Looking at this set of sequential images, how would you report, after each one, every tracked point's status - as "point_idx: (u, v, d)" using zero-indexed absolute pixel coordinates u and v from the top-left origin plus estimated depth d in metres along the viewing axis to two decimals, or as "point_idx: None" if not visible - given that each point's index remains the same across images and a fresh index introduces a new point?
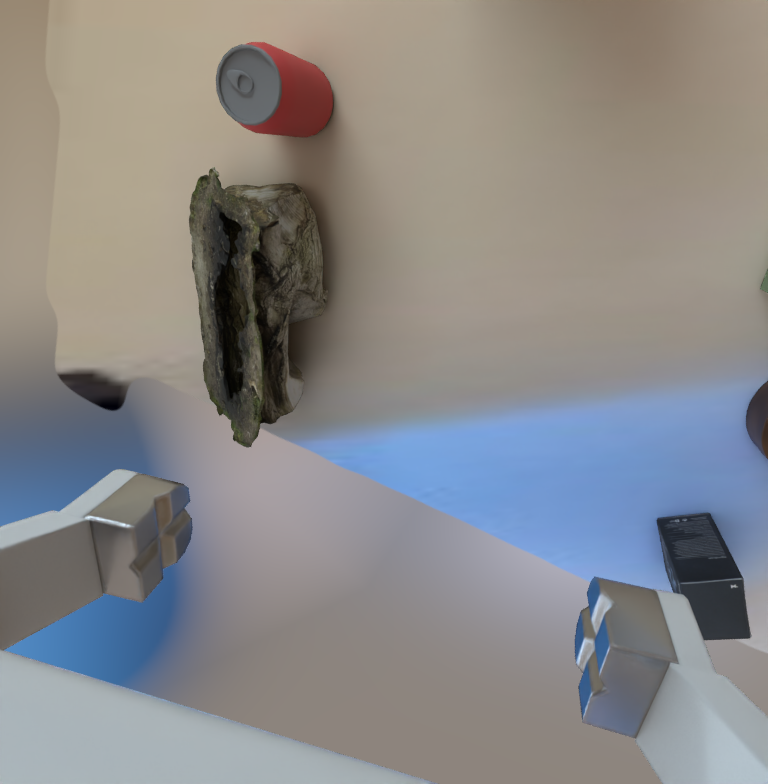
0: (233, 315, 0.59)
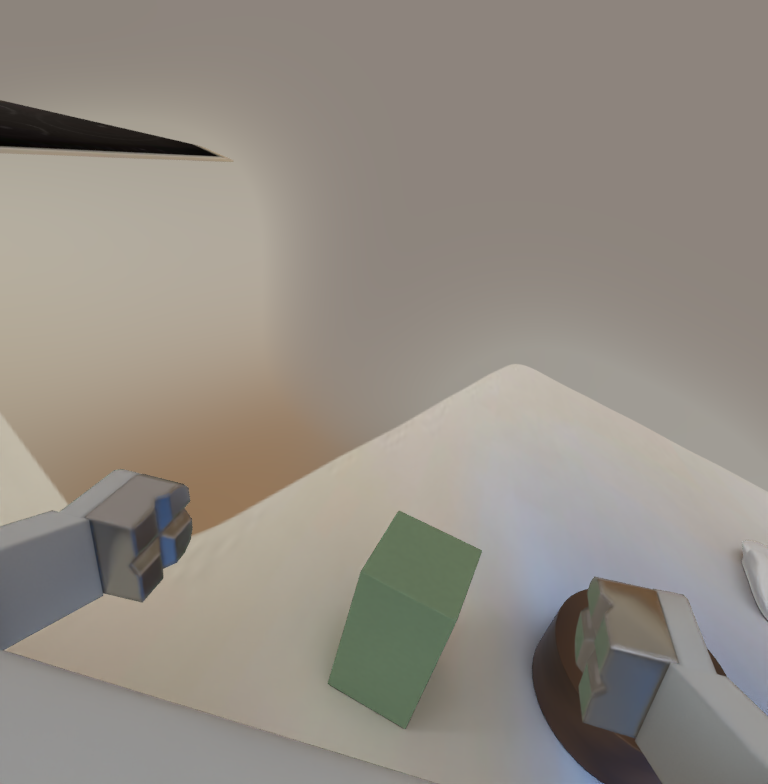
0: None
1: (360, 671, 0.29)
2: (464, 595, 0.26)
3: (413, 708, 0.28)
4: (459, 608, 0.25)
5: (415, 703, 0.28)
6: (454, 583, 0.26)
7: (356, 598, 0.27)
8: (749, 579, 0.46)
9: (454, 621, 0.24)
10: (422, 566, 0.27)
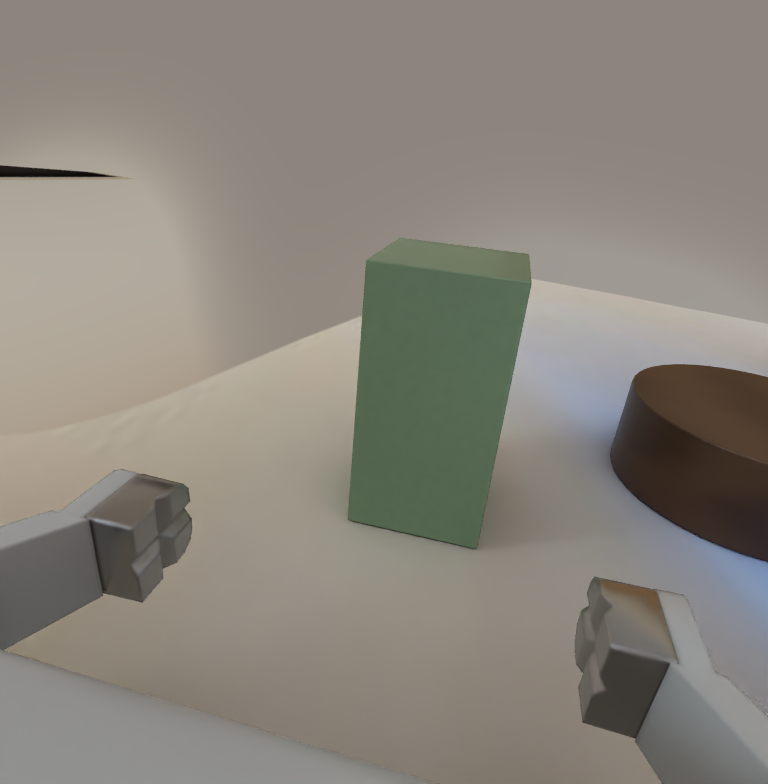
0: None
1: (394, 468, 0.19)
2: (528, 271, 0.17)
3: (484, 500, 0.19)
4: (528, 276, 0.16)
5: (486, 488, 0.18)
6: (507, 265, 0.17)
7: (366, 321, 0.17)
8: None
9: (528, 283, 0.15)
10: (455, 258, 0.18)
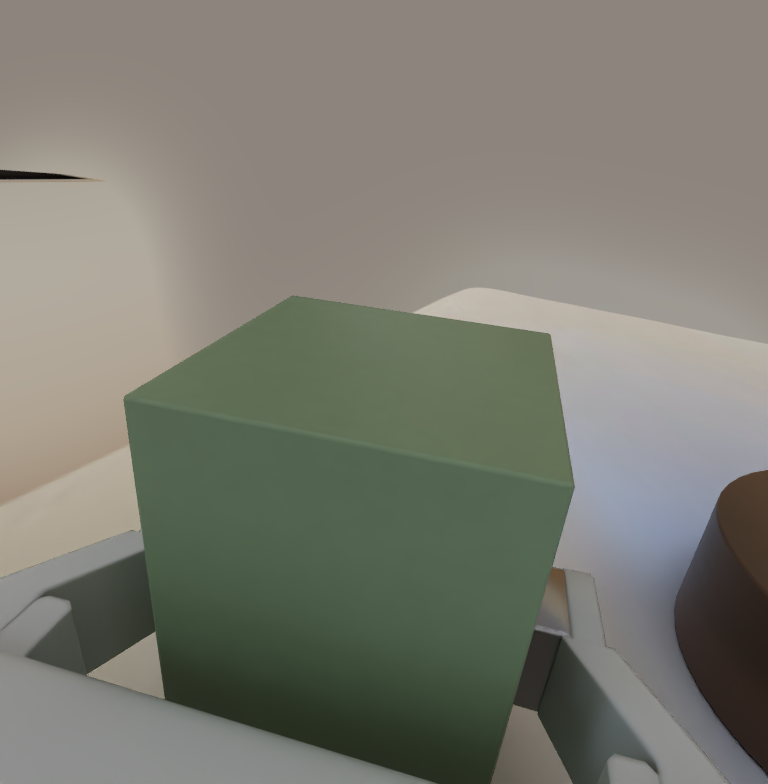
0: None
1: None
2: (559, 412, 0.07)
3: None
4: (563, 445, 0.06)
5: None
6: (505, 390, 0.07)
7: (152, 535, 0.07)
8: None
9: (566, 488, 0.05)
10: (381, 368, 0.07)
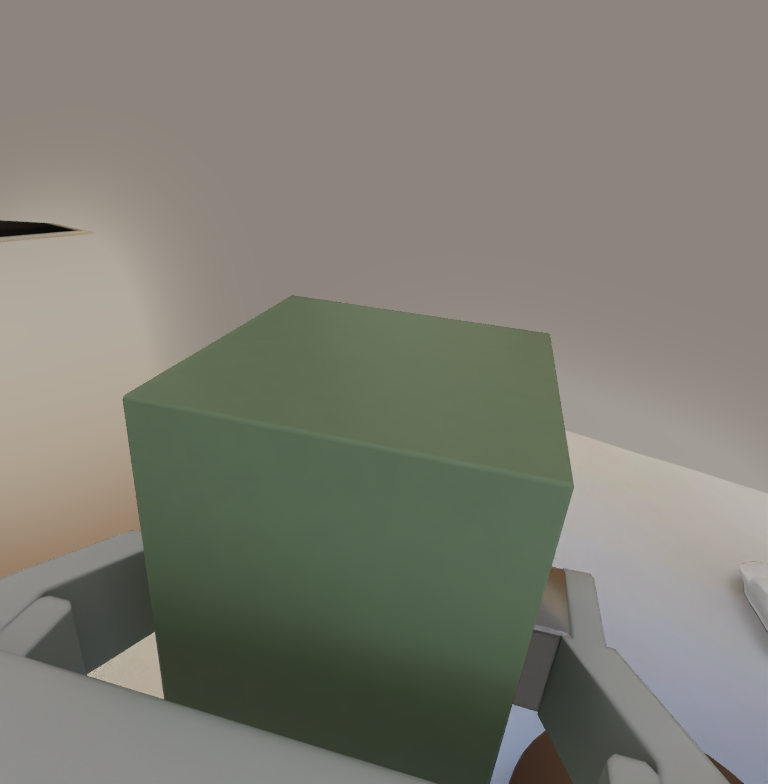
0: None
1: None
2: (558, 412, 0.07)
3: None
4: (562, 445, 0.06)
5: None
6: (504, 390, 0.07)
7: (151, 534, 0.07)
8: (762, 619, 0.34)
9: (565, 488, 0.05)
10: (381, 368, 0.07)
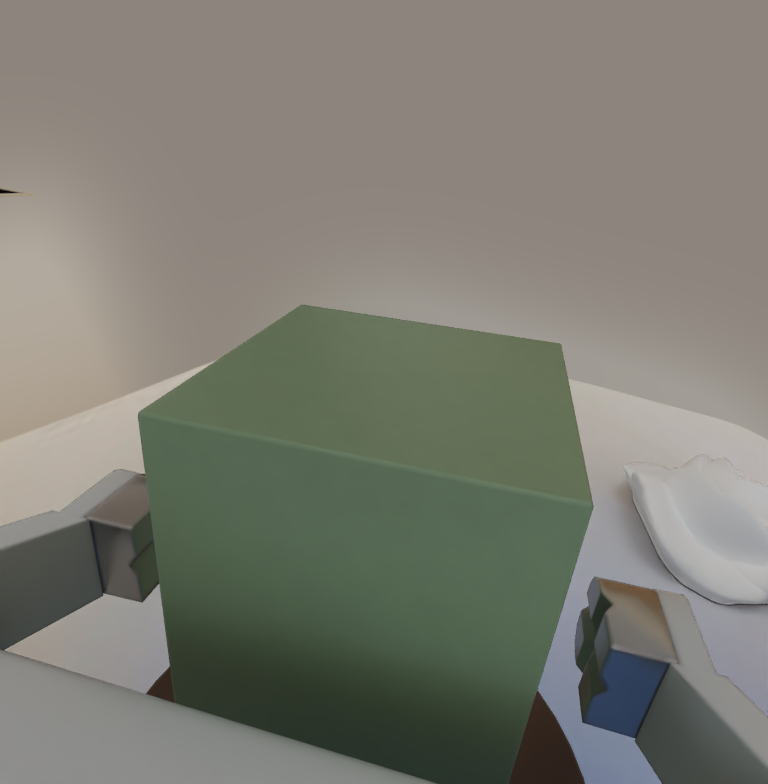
0: None
1: None
2: (574, 427, 0.07)
3: None
4: (579, 463, 0.06)
5: None
6: (519, 404, 0.07)
7: (165, 549, 0.07)
8: (645, 522, 0.28)
9: (585, 507, 0.05)
10: (393, 381, 0.07)
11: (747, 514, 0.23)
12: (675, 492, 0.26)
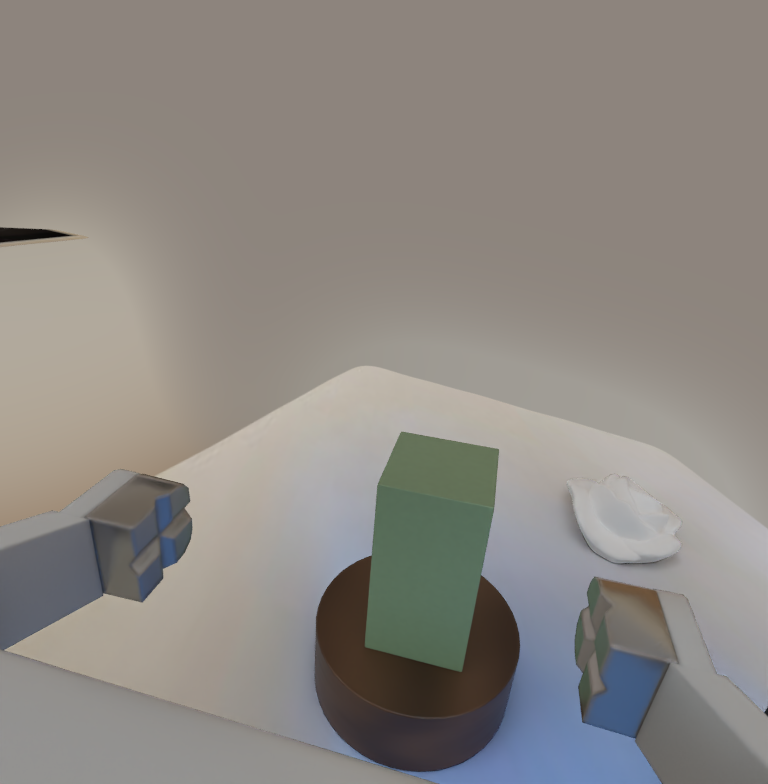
0: None
1: (399, 615, 0.26)
2: (494, 486, 0.23)
3: (466, 640, 0.25)
4: (493, 497, 0.23)
5: (467, 633, 0.25)
6: (480, 478, 0.24)
7: (378, 521, 0.24)
8: None
9: (492, 508, 0.22)
10: (442, 470, 0.24)
11: (629, 510, 0.40)
12: (593, 498, 0.43)
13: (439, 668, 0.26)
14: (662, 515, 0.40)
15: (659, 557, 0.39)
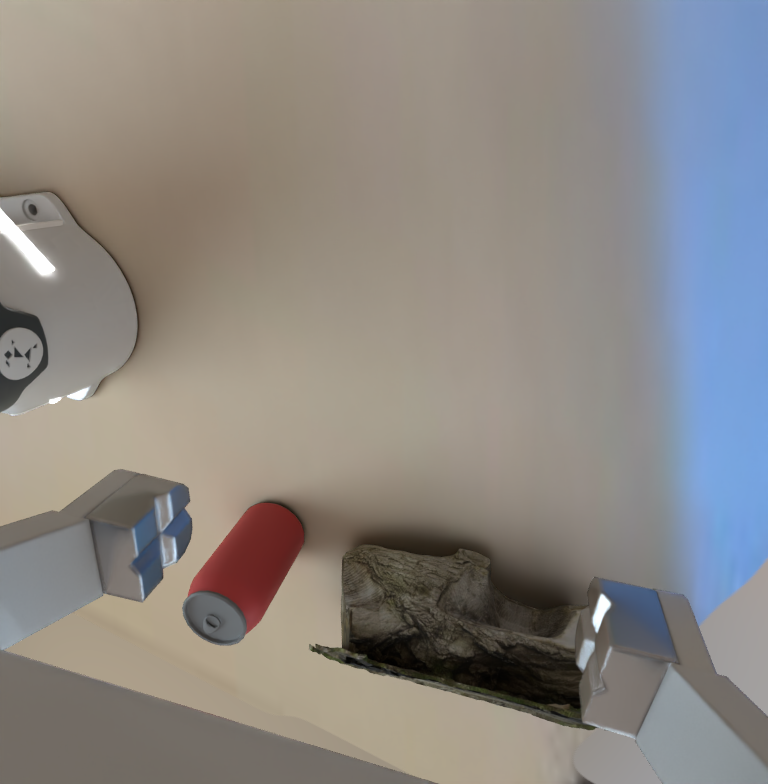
0: None
1: None
2: None
3: None
4: None
5: None
6: None
7: None
8: None
9: None
10: None
11: None
12: None
13: None
14: None
15: None
